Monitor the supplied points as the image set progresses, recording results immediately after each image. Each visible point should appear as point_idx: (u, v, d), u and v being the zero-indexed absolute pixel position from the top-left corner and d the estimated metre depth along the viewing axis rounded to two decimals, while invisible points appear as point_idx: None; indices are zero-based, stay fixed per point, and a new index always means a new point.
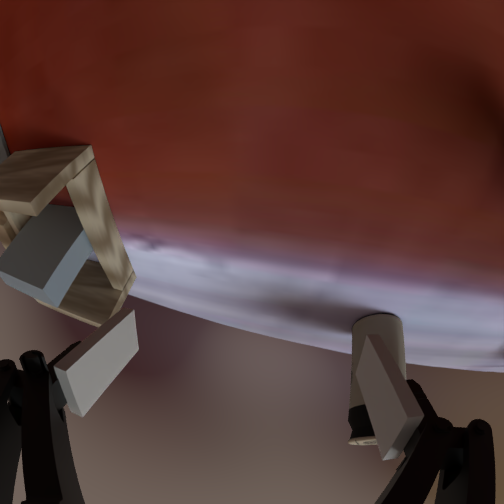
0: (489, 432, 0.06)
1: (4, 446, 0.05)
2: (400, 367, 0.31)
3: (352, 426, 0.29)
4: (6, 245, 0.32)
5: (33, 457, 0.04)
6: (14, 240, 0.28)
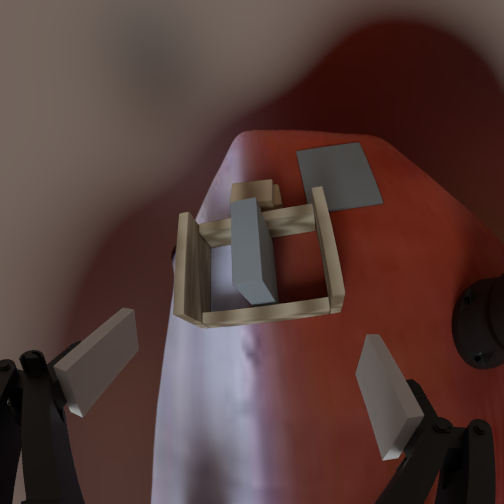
0: (489, 432, 0.06)
1: (4, 446, 0.05)
2: None
3: None
4: (241, 189, 0.47)
5: (33, 457, 0.04)
6: (263, 219, 0.43)
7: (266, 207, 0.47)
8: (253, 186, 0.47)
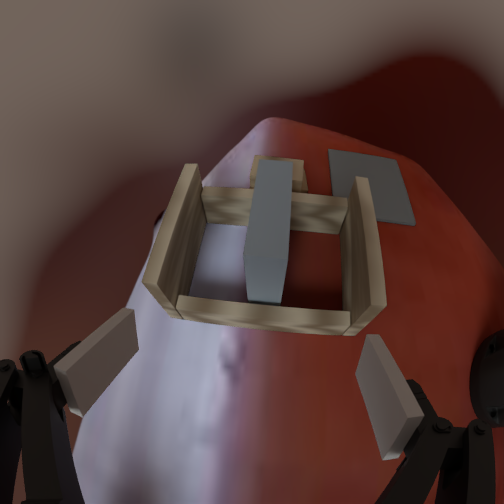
0: (489, 432, 0.06)
1: (4, 446, 0.05)
2: None
3: None
4: None
5: (33, 457, 0.04)
6: None
7: (292, 189, 0.38)
8: None
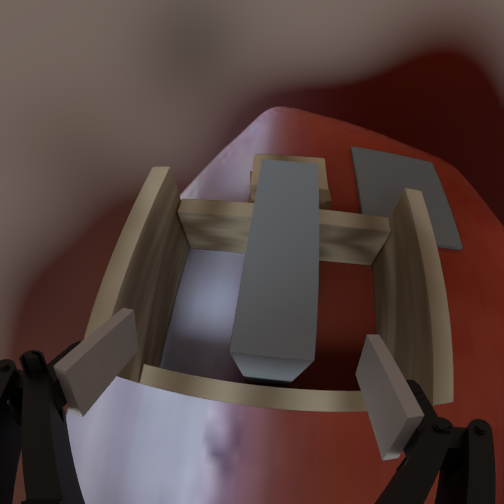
0: (489, 432, 0.06)
1: (4, 446, 0.05)
2: None
3: None
4: None
5: (33, 457, 0.04)
6: None
7: None
8: None
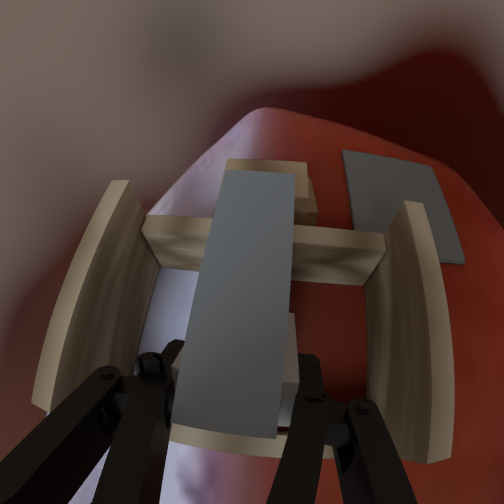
0: (375, 409, 0.08)
1: (79, 457, 0.06)
2: None
3: None
4: (245, 169, 0.23)
5: (119, 464, 0.05)
6: None
7: None
8: (270, 168, 0.23)
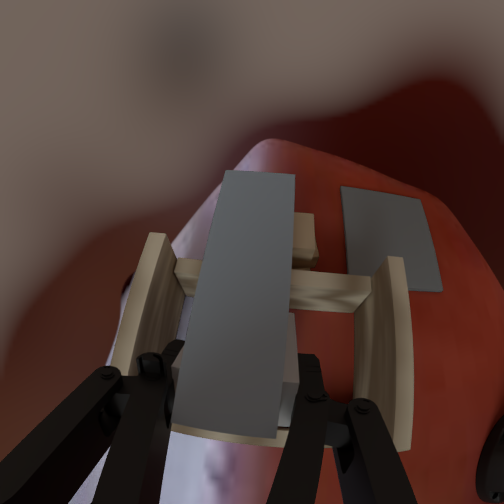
0: (375, 409, 0.08)
1: (79, 457, 0.06)
2: None
3: None
4: None
5: (119, 464, 0.05)
6: None
7: (300, 258, 0.28)
8: None
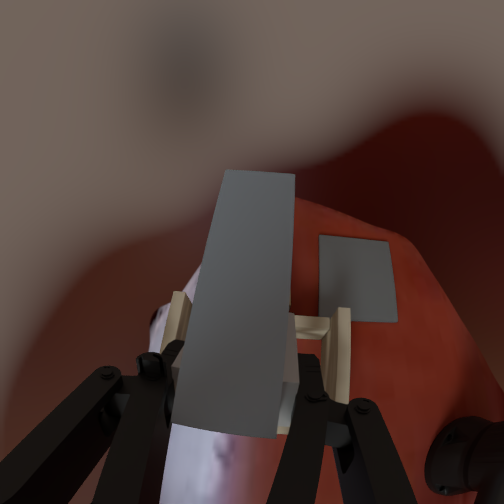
0: (375, 409, 0.08)
1: (79, 457, 0.06)
2: None
3: None
4: None
5: (119, 464, 0.05)
6: None
7: None
8: None
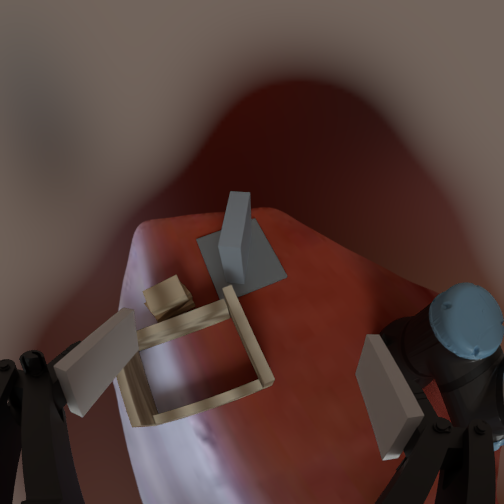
0: (489, 432, 0.06)
1: (4, 446, 0.05)
2: None
3: None
4: (153, 293, 0.48)
5: (33, 457, 0.04)
6: (250, 212, 0.55)
7: (182, 301, 0.49)
8: (163, 287, 0.49)
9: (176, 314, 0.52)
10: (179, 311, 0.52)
